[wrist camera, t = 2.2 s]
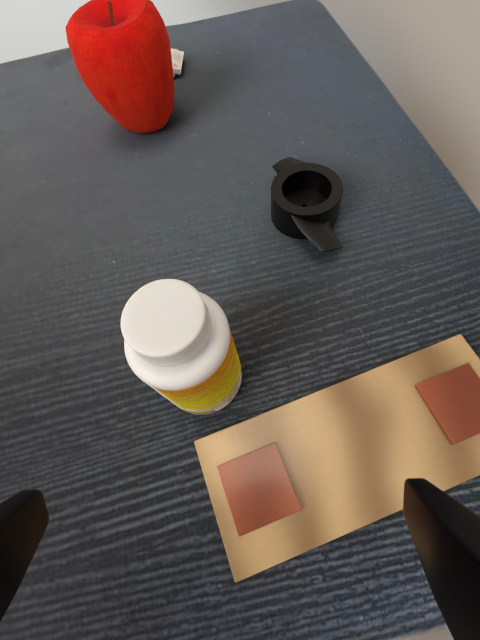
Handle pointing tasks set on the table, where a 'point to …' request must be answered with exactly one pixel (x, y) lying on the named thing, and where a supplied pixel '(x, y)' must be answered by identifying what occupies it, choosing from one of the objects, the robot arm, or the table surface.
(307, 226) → the black hollow round piece
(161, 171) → the table surface
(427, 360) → the wood board
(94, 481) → the table surface
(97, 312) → the table surface
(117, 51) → the apple
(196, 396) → the supplement bottle
